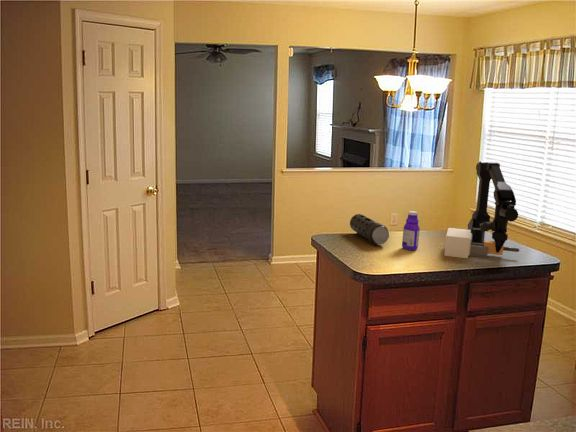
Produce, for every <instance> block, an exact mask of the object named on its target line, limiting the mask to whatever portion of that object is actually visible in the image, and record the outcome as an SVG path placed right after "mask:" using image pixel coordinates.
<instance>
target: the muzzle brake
mask: <svg viewBox="0 0 576 432" xmlns="http://www.w3.org/2000/svg"><path fill="white" fill-rule="evenodd" d="M349 226H350V228H351V230H352V231H354V232H356V234H357V235H358V236H360V237H362V238H365V240H367V241H368V240H369V242H370V243H371V244H373V245H384V244H385V243H387V241H389V237H390V233H389V230H388V229H389V228H387V227H386V225H384V224H382V223H378V222H377V221H375V220H373V219H371V218H369V217H367V216H366V215H364V214H361V213H357V214H354V215H353V216H352V217H351V219H350V221H349Z"/></svg>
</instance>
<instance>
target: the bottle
mask: <svg viewBox="0 0 576 432" xmlns="http://www.w3.org/2000/svg"><path fill="white" fill-rule="evenodd" d="M418 213H419V212H418V211H415V210H409V211H408V213H407V214H408V215H407V218H406V219H405V224H404V226H403V228H402V229H403V231H402V241H401V247H402V248H403V249H405V250H408V251H416V250H418V248H419V242H420V241H419V240H420V238H419V237H420V225H419V222H420V221H419V218H418Z"/></svg>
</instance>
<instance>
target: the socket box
mask: <svg viewBox="0 0 576 432" xmlns="http://www.w3.org/2000/svg"><path fill="white" fill-rule="evenodd" d="M446 232H447V233H446V236H445V243H444V245H445V247H444V257H453V258H463V259H468V258H469V256H473V257H480V258H488V255H489V254H488V247H484V244H482V243H473V242H472V237H473V235H472V233H471V230H469V229H466V228H465V229H463V228H454V227H448V229H447V231H446Z"/></svg>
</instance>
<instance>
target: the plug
mask: <svg viewBox="0 0 576 432" xmlns="http://www.w3.org/2000/svg"><path fill="white" fill-rule="evenodd" d="M504 245H505V243H504V244H503V246H502V248H501V249H500V251H499V253H498V252H496V245H495V241H494V240H487V239H484V247H488V254H487V255H489V254H491V255H497V256H498V255H499V256H503V255H504V254H503V253H504V252H503V251H506V252H514V253H518V252H520V248H519V247H509V246H504Z"/></svg>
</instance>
